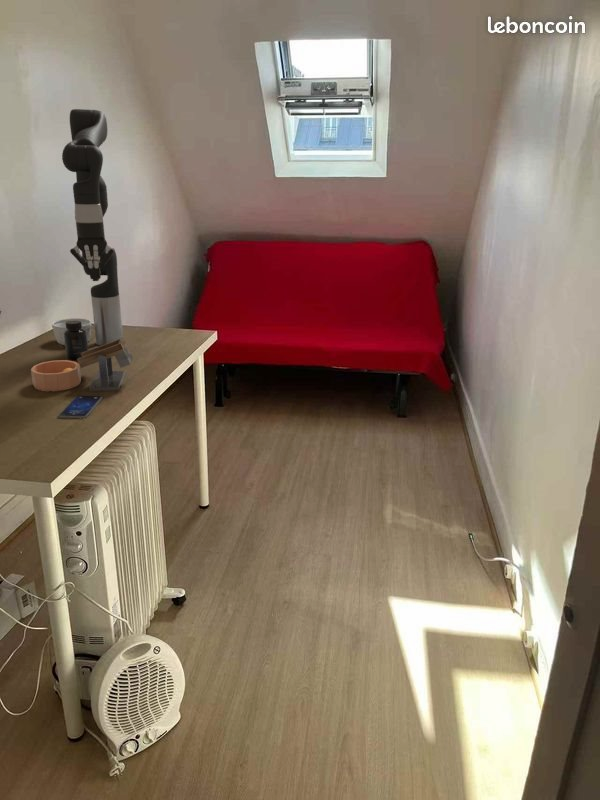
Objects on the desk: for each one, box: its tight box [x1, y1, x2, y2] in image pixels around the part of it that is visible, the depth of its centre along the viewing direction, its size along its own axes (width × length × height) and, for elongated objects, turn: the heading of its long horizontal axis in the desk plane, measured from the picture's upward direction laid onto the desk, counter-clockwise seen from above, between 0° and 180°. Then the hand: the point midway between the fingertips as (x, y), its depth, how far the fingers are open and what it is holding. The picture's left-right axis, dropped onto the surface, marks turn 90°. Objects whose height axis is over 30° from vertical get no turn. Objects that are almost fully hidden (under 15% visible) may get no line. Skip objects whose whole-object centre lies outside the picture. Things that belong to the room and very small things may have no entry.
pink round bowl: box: [30, 359, 82, 392], centre depth 172 cm, size 13×13×5 cm
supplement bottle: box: [64, 321, 89, 361], centre depth 194 cm, size 7×7×12 cm
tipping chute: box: [76, 337, 134, 369], centre depth 176 cm, size 15×13×7 cm
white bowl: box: [51, 317, 92, 346], centre depth 213 cm, size 13×13×7 cm
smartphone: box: [57, 394, 104, 420], centre depth 157 cm, size 7×1×15 cm
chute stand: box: [88, 355, 125, 392], centre depth 173 cm, size 14×8×10 cm, turn 9°
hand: (95, 280), depth 179 cm, fingers closed
